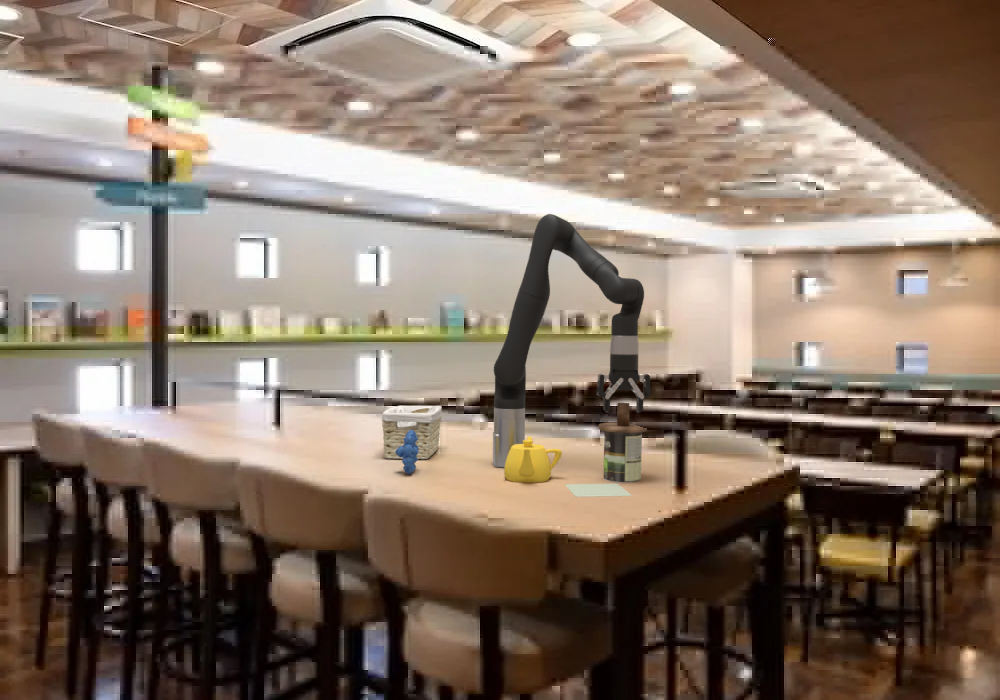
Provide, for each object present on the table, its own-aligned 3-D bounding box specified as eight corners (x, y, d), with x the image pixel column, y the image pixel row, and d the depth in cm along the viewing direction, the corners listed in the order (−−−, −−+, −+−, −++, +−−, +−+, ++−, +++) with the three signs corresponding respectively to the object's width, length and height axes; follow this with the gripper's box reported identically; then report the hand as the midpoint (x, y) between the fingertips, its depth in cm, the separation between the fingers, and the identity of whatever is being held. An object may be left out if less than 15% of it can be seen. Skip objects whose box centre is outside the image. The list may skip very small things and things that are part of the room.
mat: (575, 499, 184) (575, 496, 184) (564, 486, 198) (564, 484, 198) (632, 498, 185) (632, 495, 185) (617, 485, 199) (617, 483, 199)
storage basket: (395, 447, 257) (395, 404, 257) (443, 448, 256) (443, 404, 256) (380, 460, 233) (380, 412, 233) (432, 461, 232) (432, 413, 232)
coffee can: (605, 484, 200) (606, 431, 200) (601, 476, 211) (602, 426, 210) (644, 485, 200) (645, 432, 200) (638, 477, 210) (639, 426, 210)
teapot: (561, 489, 194) (562, 447, 194) (501, 488, 196) (501, 446, 195) (561, 472, 216) (561, 434, 216) (506, 471, 217) (507, 433, 217)
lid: (605, 432, 198) (606, 406, 197) (593, 426, 211) (593, 400, 210) (654, 432, 199) (654, 405, 199) (639, 425, 212) (639, 400, 212)
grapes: (398, 468, 220) (398, 427, 220) (422, 468, 220) (422, 427, 219) (391, 476, 209) (391, 433, 208) (415, 477, 208) (415, 433, 208)
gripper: (601, 353, 200) (600, 414, 200) (654, 353, 201) (653, 414, 202) (595, 351, 207) (594, 411, 208) (645, 352, 209) (644, 411, 209)
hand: (623, 412), depth 205 cm, fingers open, 8 cm apart
